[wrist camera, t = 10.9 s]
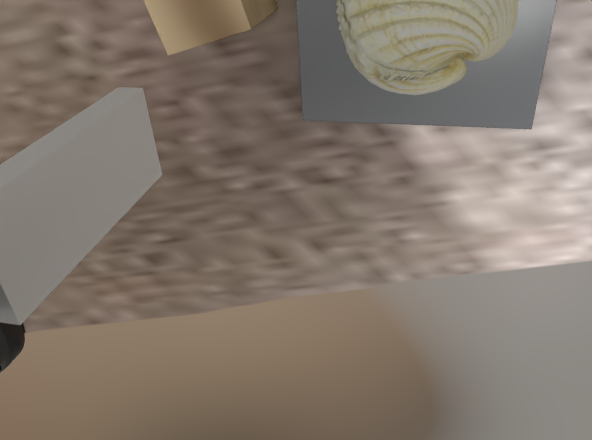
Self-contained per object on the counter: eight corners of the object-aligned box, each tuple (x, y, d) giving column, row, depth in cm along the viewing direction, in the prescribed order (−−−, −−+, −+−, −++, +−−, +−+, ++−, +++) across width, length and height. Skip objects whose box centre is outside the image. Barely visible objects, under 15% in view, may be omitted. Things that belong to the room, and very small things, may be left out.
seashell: (422, 143, 28) (295, 103, 25) (411, 17, 31) (295, -36, 28) (557, 62, 22) (410, -10, 18) (527, -88, 25) (395, -177, 21)
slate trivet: (307, 112, 33) (303, 120, 32) (294, -137, 26) (288, -137, 25) (528, 120, 30) (531, 129, 29) (583, -160, 23) (588, -162, 22)
